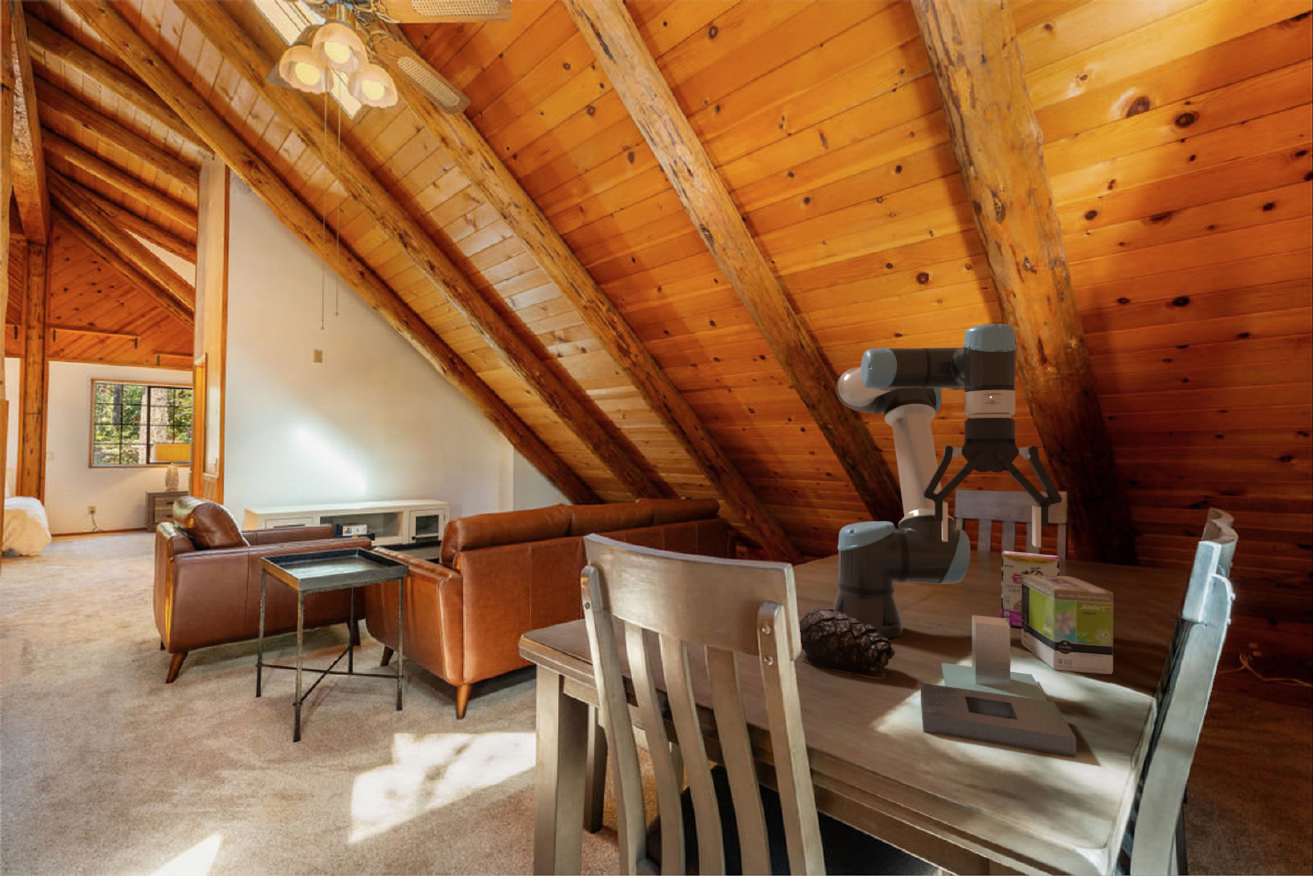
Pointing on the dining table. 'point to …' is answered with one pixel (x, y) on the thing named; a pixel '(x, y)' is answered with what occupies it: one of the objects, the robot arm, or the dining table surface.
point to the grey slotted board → (996, 719)
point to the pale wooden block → (991, 651)
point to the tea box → (1068, 623)
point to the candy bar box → (1012, 580)
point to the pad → (964, 679)
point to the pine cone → (843, 644)
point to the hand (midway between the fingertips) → (989, 543)
